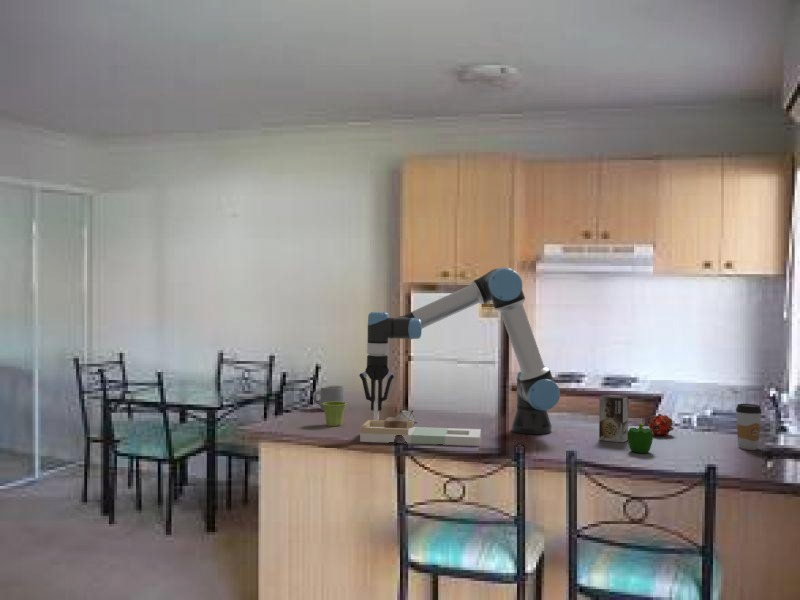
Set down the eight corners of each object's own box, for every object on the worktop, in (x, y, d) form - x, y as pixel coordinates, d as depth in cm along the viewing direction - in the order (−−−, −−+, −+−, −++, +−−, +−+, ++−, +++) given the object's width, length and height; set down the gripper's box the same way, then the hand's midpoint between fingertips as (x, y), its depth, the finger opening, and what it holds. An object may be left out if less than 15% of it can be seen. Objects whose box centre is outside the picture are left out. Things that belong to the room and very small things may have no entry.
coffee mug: (346, 408, 359) (346, 386, 358) (338, 411, 349) (338, 388, 349) (318, 406, 362) (318, 384, 362) (310, 410, 353) (310, 387, 353)
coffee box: (628, 440, 291) (629, 396, 291) (622, 443, 286) (623, 398, 286) (604, 437, 296) (605, 393, 296) (598, 440, 291) (598, 395, 291)
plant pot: (343, 427, 310) (343, 405, 310) (319, 426, 312) (319, 404, 311) (348, 423, 319) (348, 401, 319) (325, 422, 321) (325, 401, 321)
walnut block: (409, 428, 293) (409, 417, 292) (406, 432, 285) (406, 421, 285) (387, 428, 294) (387, 417, 293) (384, 431, 286) (384, 420, 286)
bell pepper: (628, 448, 276) (628, 419, 276) (653, 450, 273) (653, 421, 273) (625, 453, 268) (626, 423, 268) (651, 455, 265) (652, 425, 265)
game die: (403, 441, 304) (392, 421, 300) (397, 429, 312) (387, 410, 307) (423, 429, 304) (413, 410, 300) (418, 418, 312) (407, 399, 308)
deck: (480, 437, 293) (480, 423, 293) (479, 446, 277) (479, 431, 277) (367, 433, 299) (367, 420, 299) (360, 441, 283) (360, 427, 283)
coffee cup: (746, 451, 274) (747, 407, 274) (729, 446, 282) (730, 403, 282) (766, 449, 277) (767, 406, 276) (749, 445, 285) (750, 403, 284)
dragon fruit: (668, 437, 307) (657, 446, 297) (649, 422, 310) (639, 431, 301) (680, 421, 303) (670, 430, 293) (662, 406, 306) (651, 415, 297)
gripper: (396, 354, 292) (395, 418, 293) (361, 353, 294) (360, 417, 295) (393, 356, 285) (392, 422, 285) (357, 354, 287) (356, 420, 287)
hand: (376, 419), depth 290 cm, fingers closed
